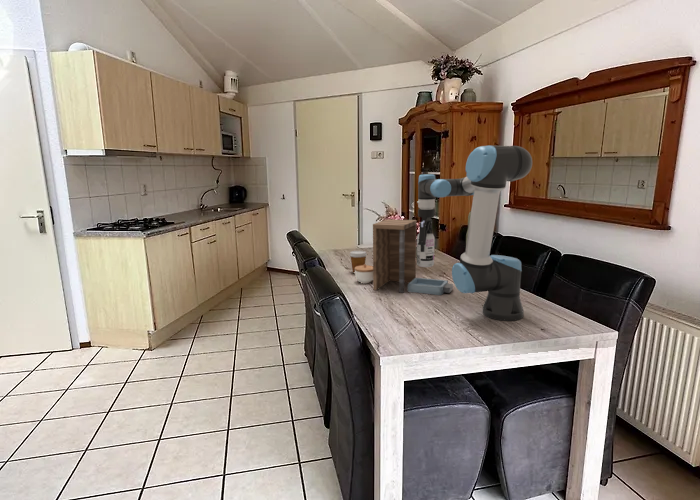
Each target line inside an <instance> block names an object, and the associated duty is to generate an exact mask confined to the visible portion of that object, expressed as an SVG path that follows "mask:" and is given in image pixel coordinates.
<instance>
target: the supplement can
mask: <svg viewBox="0 0 700 500" xmlns="http://www.w3.org/2000/svg"><path fill="white" fill-rule="evenodd" d="M435 239H436V238H435V236H434V233H432V234H431V233H430V234H427V236H426V244H425V245H426V259H420V245H418V242H419V233H418V234H417V235H416V266H418V267H421V268H432V267H433V266H434V265H435V242H436V241H435ZM422 242H423V241H422Z"/></svg>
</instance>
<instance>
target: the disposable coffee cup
mask: <svg viewBox="0 0 700 500" xmlns="http://www.w3.org/2000/svg"><path fill="white" fill-rule="evenodd" d="M367 255H368V254H367V252H366V251H365V250H353V251H349V256H350V262H351V268H352V273H353V272H355V267H356V266H361V265H364V264H366V259H367Z"/></svg>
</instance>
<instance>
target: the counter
mask: <svg viewBox="0 0 700 500" xmlns="http://www.w3.org/2000/svg"><path fill="white" fill-rule="evenodd" d="M416 260H417V220H416V219H388V218H387V219H383V220H381V221H378V222H375V223H373V224H372V266H373V280H372V284H373V285H372V287H373V288H372V289H373V290H374V291H377V290H379V289H381V288H382V287H383V286H384V285H385V283H386V284H387V283H388V282H398V283H399V284H398V294H399V293H400V294H404V293H405V283H407V284H408V283H410V282H411V281H412V280H413V279H414V278H417V276H416V275H417V264H416ZM378 288H379V289H378Z"/></svg>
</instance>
